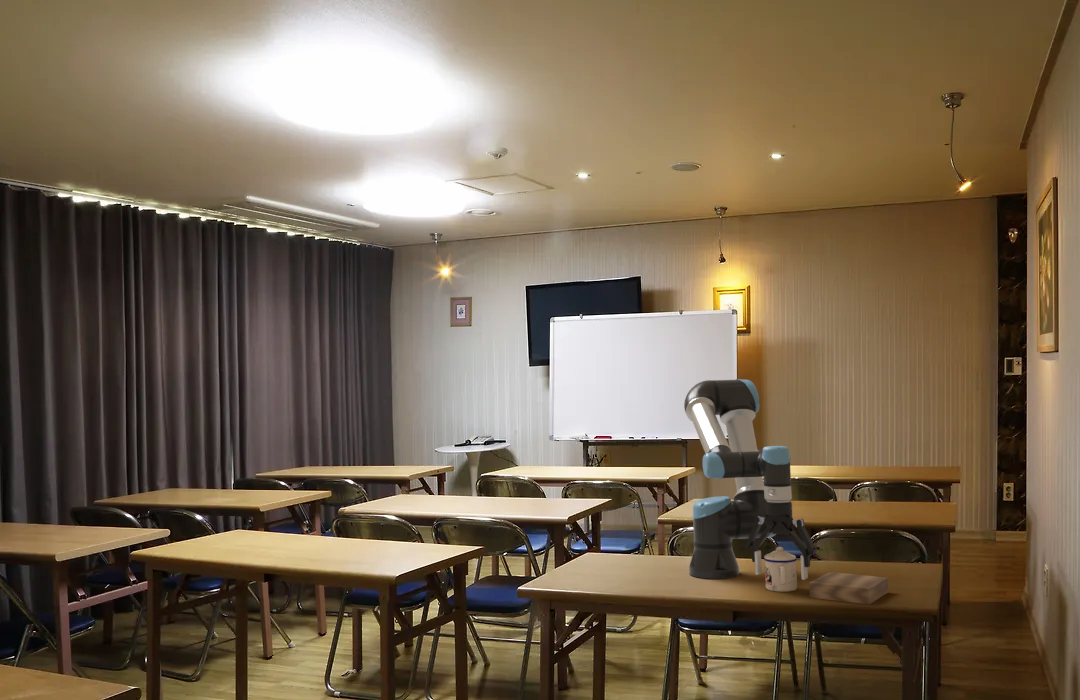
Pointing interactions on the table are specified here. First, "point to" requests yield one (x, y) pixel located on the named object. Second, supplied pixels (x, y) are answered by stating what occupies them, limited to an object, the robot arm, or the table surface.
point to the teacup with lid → (780, 571)
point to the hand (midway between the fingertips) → (781, 576)
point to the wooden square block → (848, 587)
